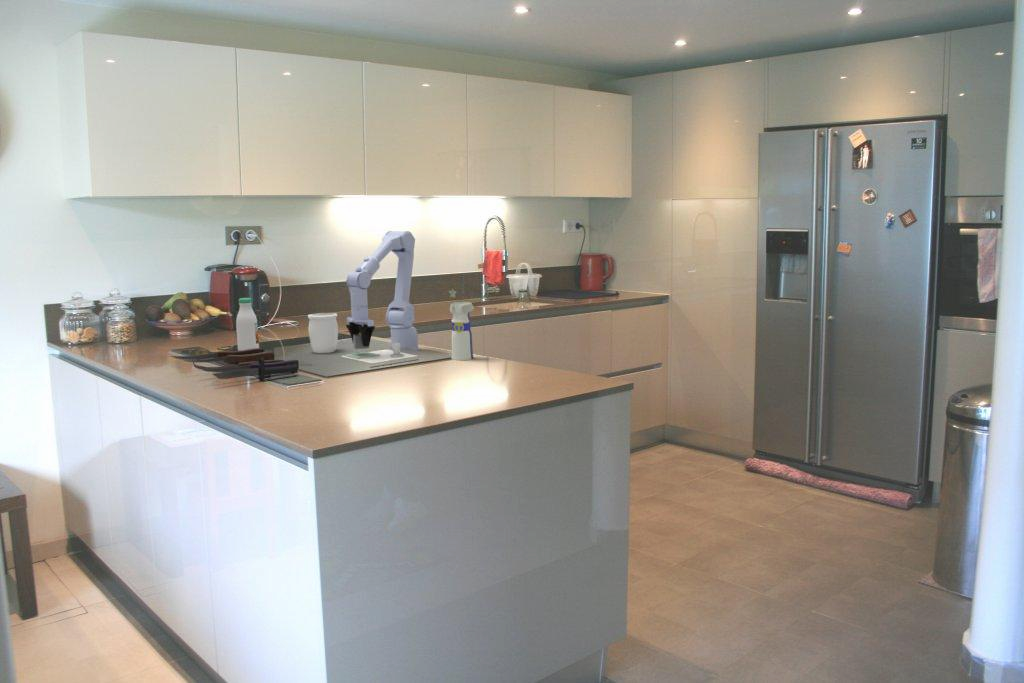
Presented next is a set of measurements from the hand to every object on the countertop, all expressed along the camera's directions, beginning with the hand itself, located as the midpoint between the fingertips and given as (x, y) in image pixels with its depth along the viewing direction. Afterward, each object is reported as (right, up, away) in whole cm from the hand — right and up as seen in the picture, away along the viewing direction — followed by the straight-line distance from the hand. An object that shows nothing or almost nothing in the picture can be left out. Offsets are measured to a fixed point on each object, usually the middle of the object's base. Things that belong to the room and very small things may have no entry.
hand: (361, 345), depth 291 cm
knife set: (-36, -10, -20) cm, 42 cm away
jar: (-16, -4, +12) cm, 20 cm away
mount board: (+6, -5, 0) cm, 8 cm away
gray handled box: (0, -1, 0) cm, 1 cm away
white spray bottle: (+35, -5, 0) cm, 36 cm away
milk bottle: (-47, -3, +25) cm, 54 cm away
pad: (0, -4, +1) cm, 4 cm away
